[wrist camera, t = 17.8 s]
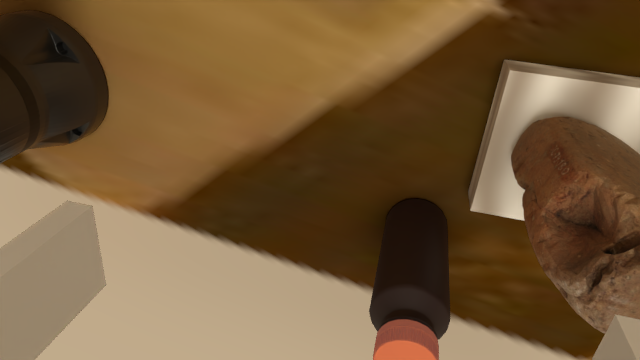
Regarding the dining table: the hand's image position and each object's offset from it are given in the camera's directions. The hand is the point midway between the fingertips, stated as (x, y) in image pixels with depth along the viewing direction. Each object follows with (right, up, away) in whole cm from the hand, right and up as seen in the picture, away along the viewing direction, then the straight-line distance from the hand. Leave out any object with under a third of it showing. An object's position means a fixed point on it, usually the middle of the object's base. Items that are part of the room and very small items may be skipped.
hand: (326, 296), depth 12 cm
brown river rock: (+22, +5, +30) cm, 37 cm away
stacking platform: (+23, +7, +33) cm, 41 cm away
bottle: (+11, -2, +41) cm, 42 cm away
